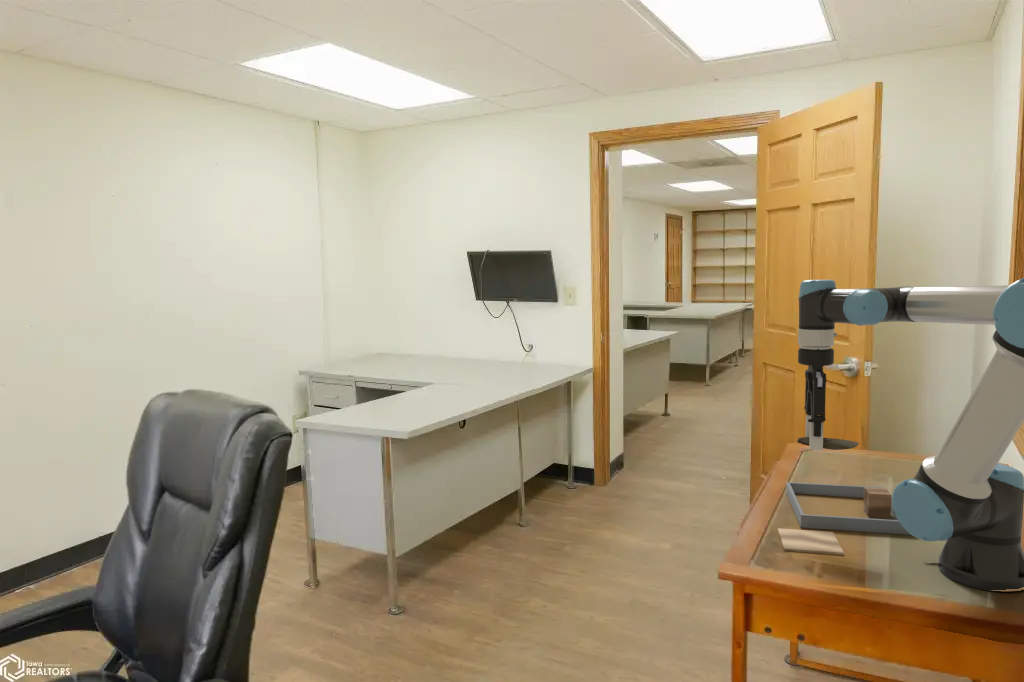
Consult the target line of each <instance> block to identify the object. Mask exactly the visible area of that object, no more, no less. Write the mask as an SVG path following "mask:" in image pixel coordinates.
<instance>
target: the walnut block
mask: <svg viewBox="0 0 1024 682" xmlns="http://www.w3.org/2000/svg"><path fill="white" fill-rule="evenodd" d="M892 495H893V494H892V493H890V491H889V490H888V489H887V488H885V487H883V488H870V487H864V498H863V507H862V509H863V512H864V513H865V515H866V516H867V518H875V519H891V518H892V517H891V516H892V513H891V497H892Z"/></svg>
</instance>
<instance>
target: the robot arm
mask: <svg viewBox="0 0 1024 682" xmlns="http://www.w3.org/2000/svg"><path fill="white" fill-rule="evenodd" d="M836 285H837V284H836V281H835V280H834V279H805V280H802V282H800V284H799V294H798V329H797V331H798V332H797V334H798V335H797V344H798V346H799V348H798V349H797V363H798V364H800V365H802V366H807V369H805V371H804V378H805V383H804V384H805V389H804V393H805V394H804V408H803V409H804V411H805V435H804V437H810V445H809V447H808V448H809V450H810V451H823V450H824V449H823V438H824V422H826V420H827V419H826V391H827V390H826V388H827V387H826V386H827V374H826V372H824V367H825V366H827V367H828V366H832V365H834V363H835V350H834V348H832V347H834V345H835V338H837V336H838V333H837V332H835V325H836V323H838V324H849V325H856V326H859V327H860V326H874V325H877V324H880V323H891V322H901V323H902V322H903V323H934V324H935V323H938V324H939V323H940V324H963V325H964V324H965V325H967V324H968V325H987V326H988V325H990V326H991V325H992V326H993V325H994V327H995V331H994V333H993V334H992V336H991V337H992V338H991V339H992V342H993V343H994V345H995V347H996V351H995V353H994V355H993V356H992V358H991V360H990V361H989V364H988V365H987V367H986V368H985V370H984V371H983V373H982V375H981V377H980V379H979V381H978V383H977V385H976V386H975V388H974V390H973V391H972V393H971V395H970V397H969V399H968V400H967V402H966V404H965V405H964V407H963V409H962V411H961V413H959V417H958V418H957V420H956V421H955V423H954V425H953V427H952V429H950V433H948V436H947V437H946V439H945V441H944V443H943V444H942V446H941V448H940V450H939V452H938V453H937V455H931V456H928V457H926V458H924V459H923V460H922V463H921V464H920V466H919V468H918V470H917V471H916V473H915V475H914V477H913V478H908V479H904V480H903V481H901V482H899V483H898V484H897V485H896V486H895V487H894V489H893V492H892V494H891V495H892V496H891V497H892V505H893V509H894V511H895V513H896V517H897V519H898V521H899V522H900V524H901V525H902V526H903V527H904V528H905V529H906V530H907V531H908V532H909V533H910V534H911V535H910V536H913V537H915V538H916V539H919V540H921V541H924V542H937V541H938V542H942V541H944V542H945V544H944V545H943V547H942V550H941V551H940V554H939V557H938V570H939V571H940V573H941V574H942V575H943V576H945V577H947V578H948V579H950V580H952V581H954V582H956V583H959V584H961V585H964V586H967V587H971V588H973V589H977V588H979V589H978V590H982V589H986V590H985V591H987V590H1006V589H1019V588H1022V587H1024V550H1023V547H1022V531H1023V518H1024V517H1023V516H1024V514H1023V513H1024V474H1023V473H1022V472H1021V471H1020V470H1019V469H1017V468H1014V467H1012V466H1008V465H1007V464H1006V465H1005V464H1001V463H999V462H1000V460H1001V459H1002V458H1003V456H1004V454H1005V452H1006V451H1007V449H1008V448H1009V446H1010V444H1011V443H1012V441H1013V439H1014V438H1015V437H1016V435H1017V433H1018V431H1019V430H1020V428H1022V425H1023V424H1024V277H1023V278H1020V279H1018V280H1016V281H1014V282H1012V283H1011V284H1008V285H959V286H958V285H957V286H955V285H954V286H919V287H917V286H897V287H883V288H882V287H878V288H877V287H876V288H872V287H871V288H837V287H836ZM897 519H896V520H897Z"/></svg>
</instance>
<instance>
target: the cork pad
mask: <svg viewBox="0 0 1024 682" xmlns="http://www.w3.org/2000/svg"><path fill="white" fill-rule="evenodd" d="M777 533H778V536H779V538H780V541H781V545H782V548H783V551H786V552H798V553H808V554H809V553H811V554H823V555H837V556H845V552H844V550H843V548H842V547H841V545H840V542H839V540H838V539H837V537H836V535H835V533H834V531H823V530H821V531H820V530H812V529H811V530H807V529H796V528H794V529H793V528H779V527H778V528H777Z"/></svg>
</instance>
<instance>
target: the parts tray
mask: <svg viewBox="0 0 1024 682" xmlns="http://www.w3.org/2000/svg"><path fill="white" fill-rule="evenodd" d="M864 487H870V488H884V487H883V486H870V485H869V486H868V485H867V486H866V485H849V484H848V485H847V484H834V483H833V484H832V483H831V484H830V483H813V482H811V483H810V482H797V481H796V482H794V481H786V483H785V493H786V496H787V497H788V500H789V502H790V505H791V507H792V510H793V512H794V515H795V517H796V520H797V523H798V525H799V527H800V528H805V529H806V528H807V529H819V530H821V529H822V530H834V531H835V530H836V531H852V532H861V533H863V532H865V533H876V534H877V533H878V534H881V533H882V534H894V535H904V536H905V535H908V536H912V535H911V534H910V533H909V532H908V531H907V530H906V529H905V528H904V527H903V526H902V525H901V524H900V522H899V521H898V519H897V517H896V513H895V511H894V509H893V505H892V496H891V515H893V517H894V518H895V519H888V518H873V517H854V516H838V515H825V514H807V513H806V514H805V513H804V512H803V509H802V507H801V505H800V502H799V501H798V500H799V499H798V497H797V496H796V494H804V495H816V496H817V495H818V496H830V497H845V498H846V497H847V498H860V499H864Z"/></svg>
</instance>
